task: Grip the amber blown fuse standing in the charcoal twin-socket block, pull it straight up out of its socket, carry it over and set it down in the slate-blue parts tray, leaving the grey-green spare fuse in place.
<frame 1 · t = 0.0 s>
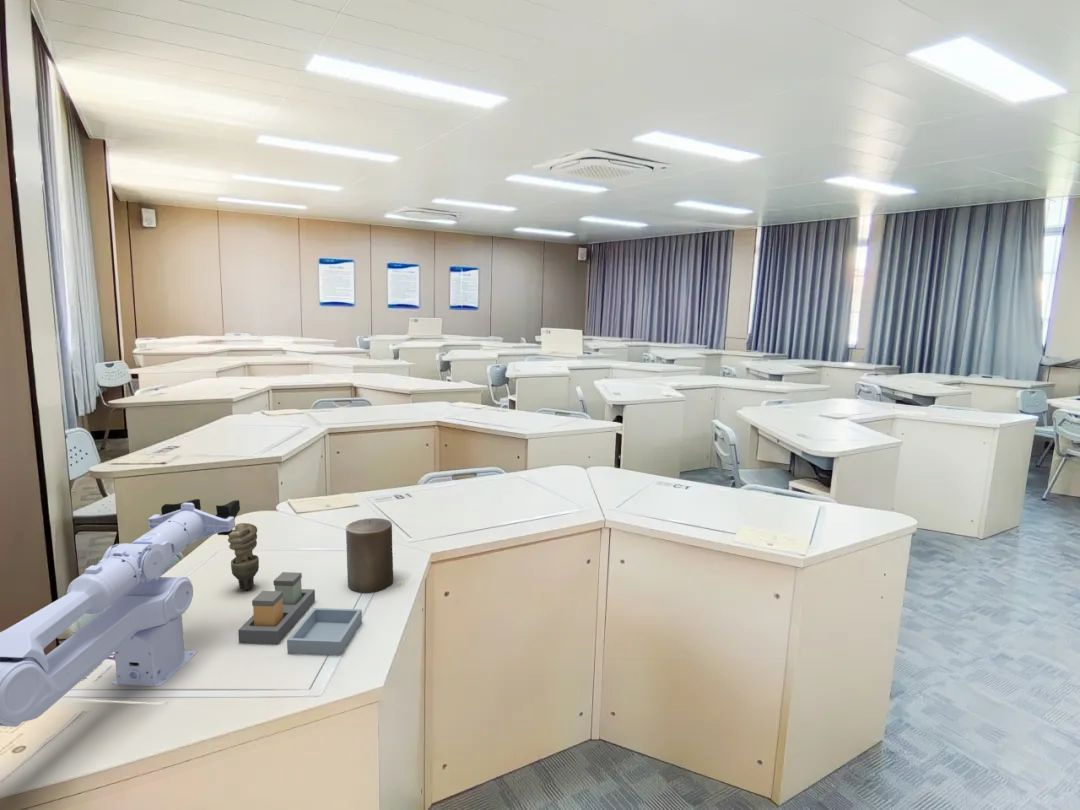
hand: (218, 504, 112), 22 cm above the table, tool horizontal, fingers open, 7 cm apart
spare fuse: (289, 610, 114), resting on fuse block
light bulb: (245, 592, 123), on the table
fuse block: (279, 622, 110), on the table
blown fuse: (269, 631, 106), resting on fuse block
pillar candle: (370, 585, 127), on the table
parts tray: (326, 639, 105), on the table
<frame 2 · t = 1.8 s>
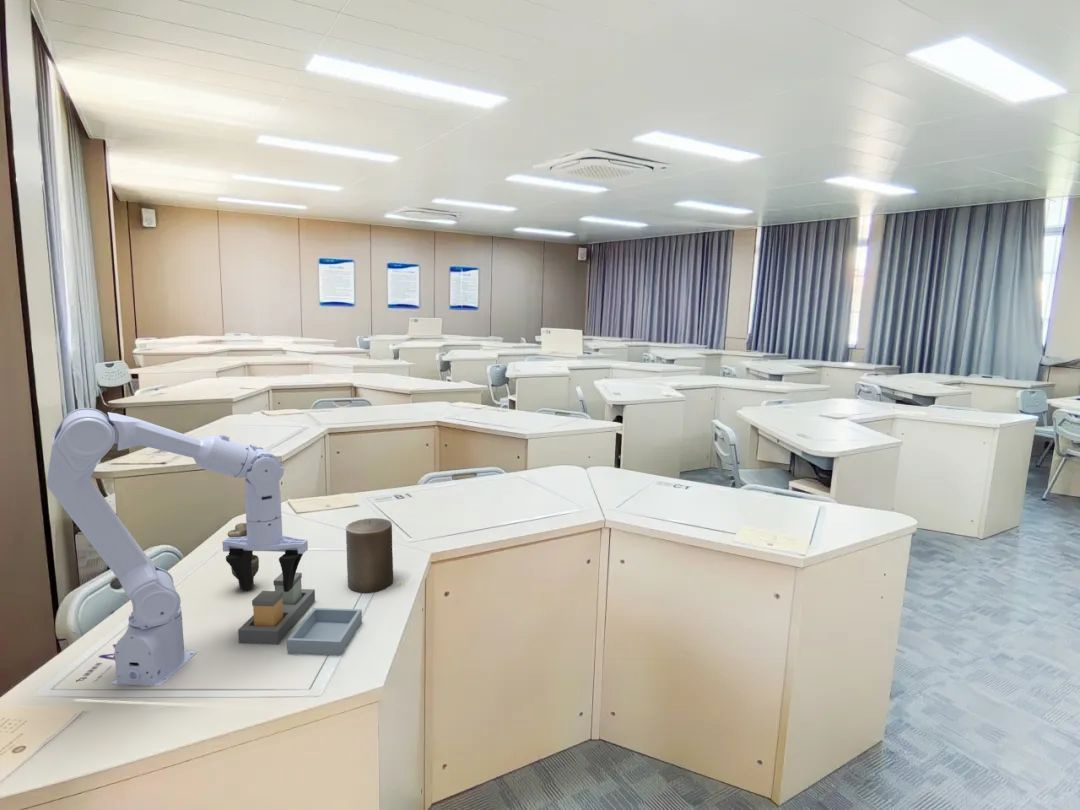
hand: (267, 588, 105), 9 cm above the table, tool pointing down, fingers open, 7 cm apart
nothing on the table moved.
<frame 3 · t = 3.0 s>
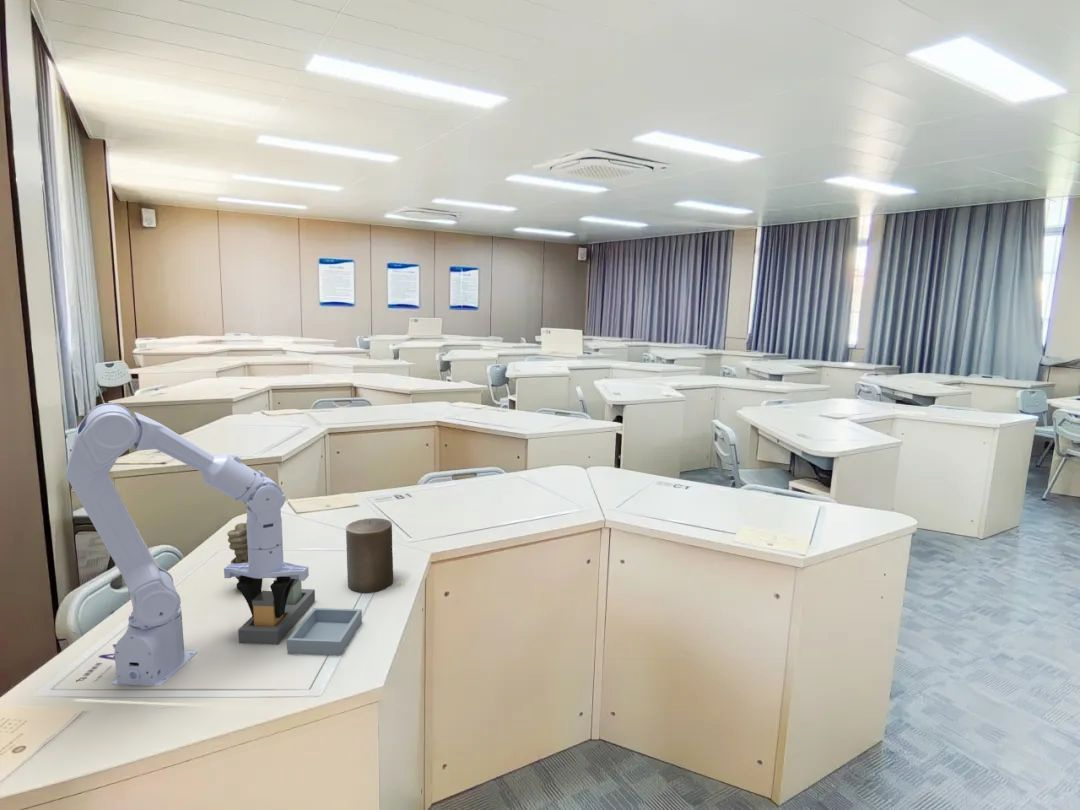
hand: (268, 614, 106), 4 cm above the table, tool pointing down, fingers closed on blown fuse, 4 cm apart
blown fuse: (269, 631, 106), point 1 cm above the table, touching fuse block, gripper
everything else where it was.
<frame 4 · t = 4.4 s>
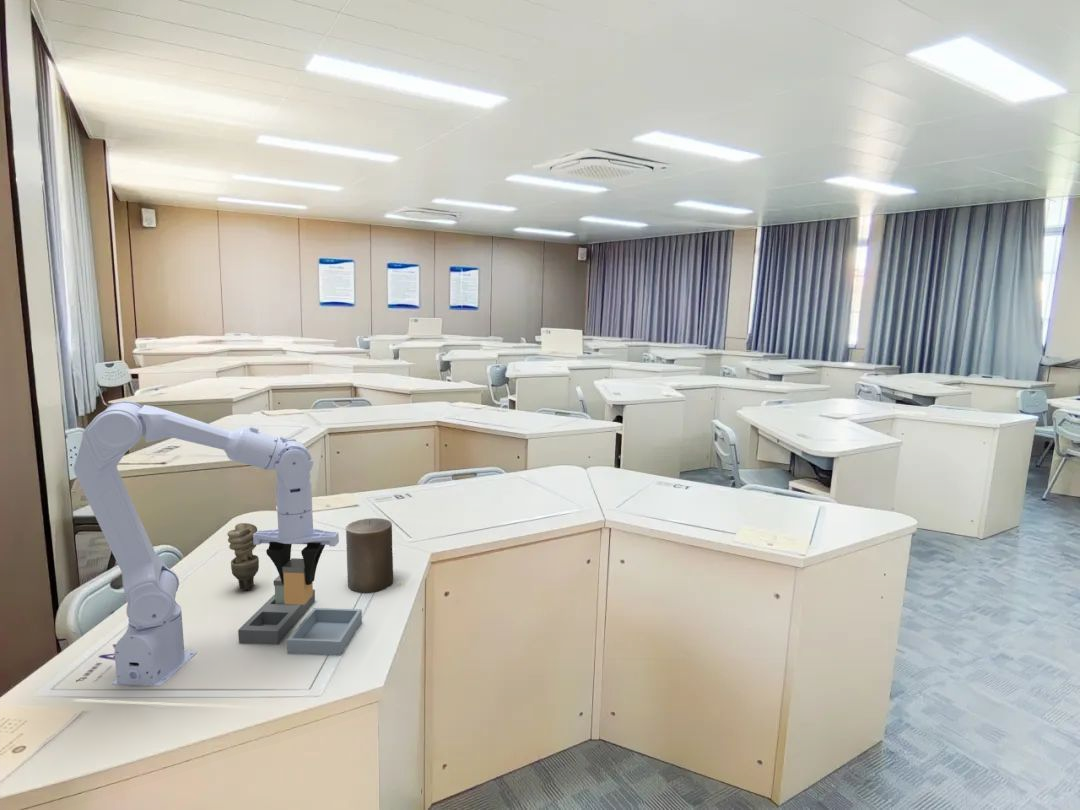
hand: (298, 582, 104), 11 cm above the table, tool pointing down, fingers closed on blown fuse, 4 cm apart
blown fuse: (299, 599, 105), point 7 cm above the table, touching gripper
everything else where it was.
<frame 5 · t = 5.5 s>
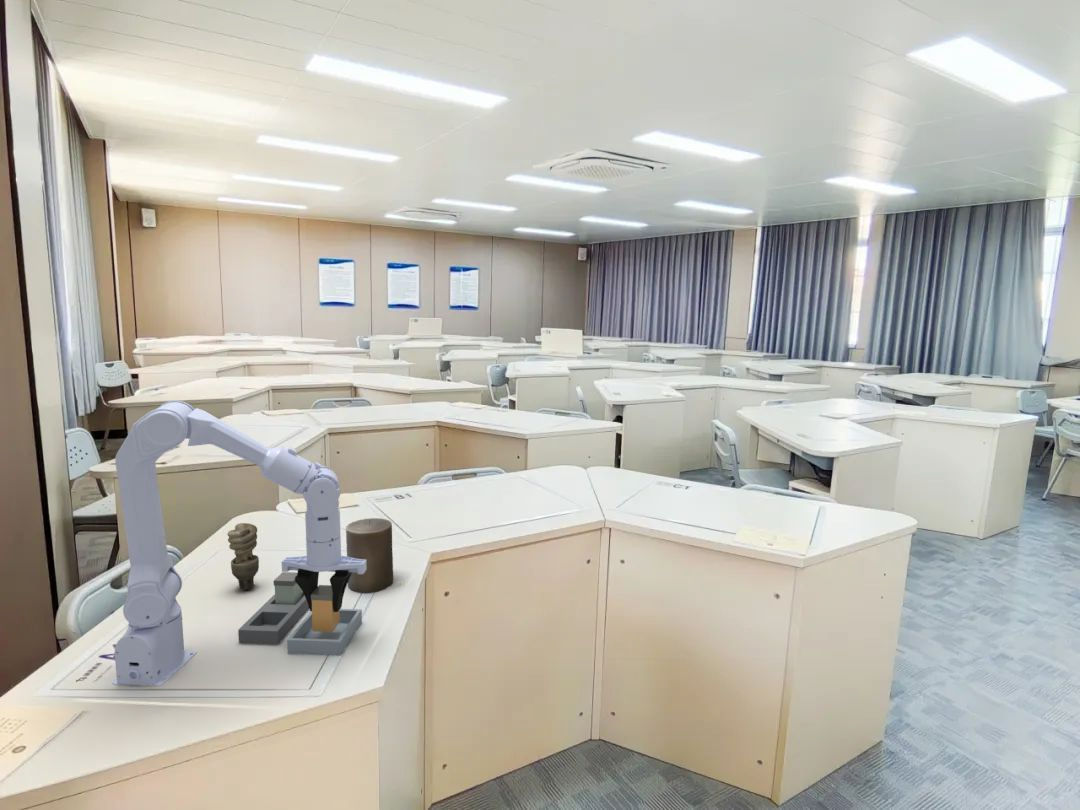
hand: (325, 608, 104), 6 cm above the table, tool pointing down, fingers closed on blown fuse, 4 cm apart
blown fuse: (326, 626, 105), point 2 cm above the table, touching gripper
everything else where it was.
when the fingers open (5 cm above the table, at t = 6.1 s): blown fuse stays where it is, resting on parts tray.
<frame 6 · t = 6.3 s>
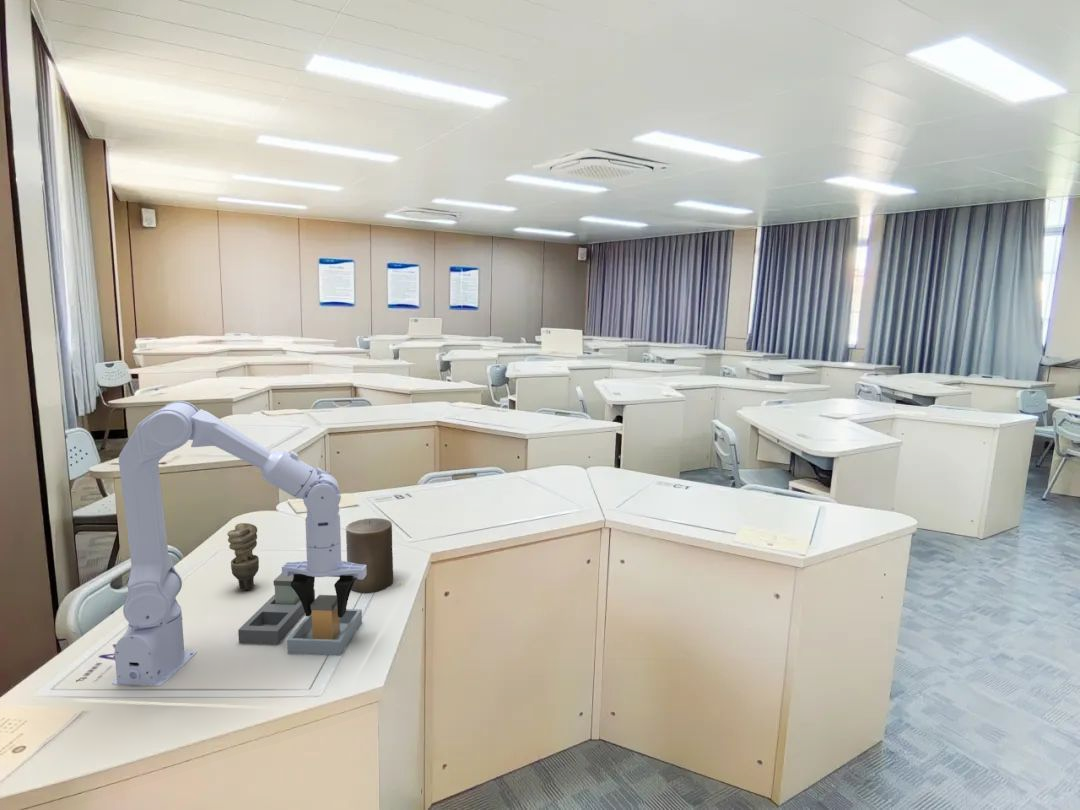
hand: (325, 614, 105), 5 cm above the table, tool pointing down, fingers open, 5 cm apart
blown fuse: (326, 636, 105), resting on parts tray
everything else where it was.
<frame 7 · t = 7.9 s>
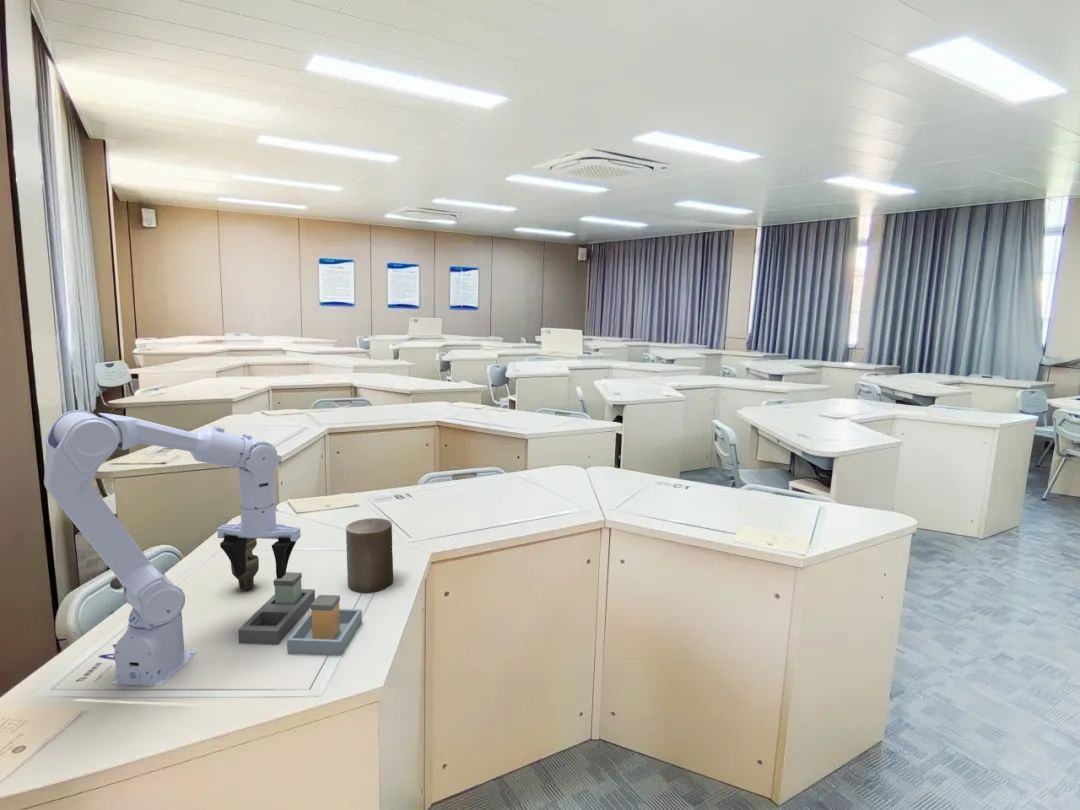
hand: (261, 575, 107), 10 cm above the table, tool pointing down, fingers open, 7 cm apart
nothing on the table moved.
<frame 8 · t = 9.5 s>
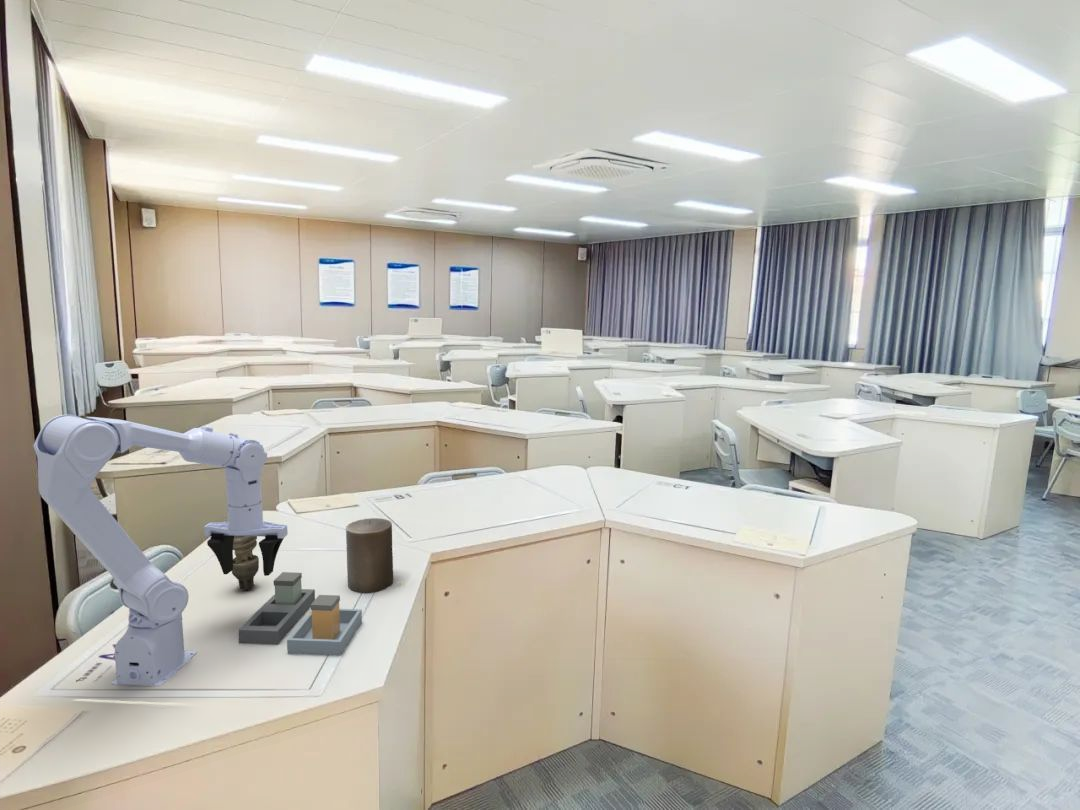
hand: (248, 572, 108), 10 cm above the table, tool pointing down, fingers open, 7 cm apart
nothing on the table moved.
at the end: blown fuse inside the target area on the parts tray (0.2 cm from its centre), point 0.5 cm above the parts tray's base; the gripper is holding nothing; spare fuse moved 0.1 cm from its start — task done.
